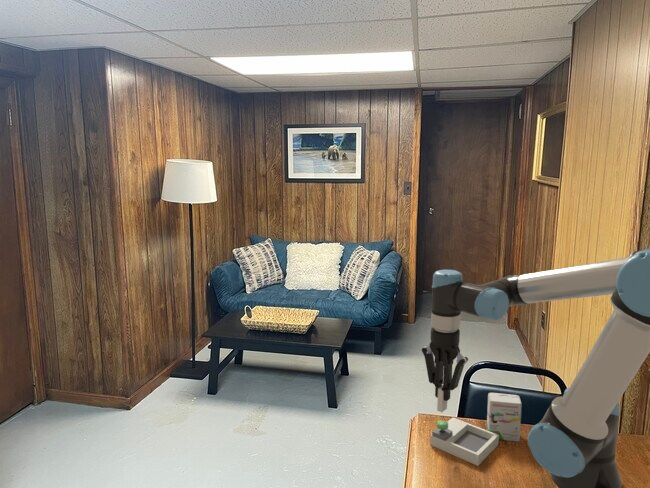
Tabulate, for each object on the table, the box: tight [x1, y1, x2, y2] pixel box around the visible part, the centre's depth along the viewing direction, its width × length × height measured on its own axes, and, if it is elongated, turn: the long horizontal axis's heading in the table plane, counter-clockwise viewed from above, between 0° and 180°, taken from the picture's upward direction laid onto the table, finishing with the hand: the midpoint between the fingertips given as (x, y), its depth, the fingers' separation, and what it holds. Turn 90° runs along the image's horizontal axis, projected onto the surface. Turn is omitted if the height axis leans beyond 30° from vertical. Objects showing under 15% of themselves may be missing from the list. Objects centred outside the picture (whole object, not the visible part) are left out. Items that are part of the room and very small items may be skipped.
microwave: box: [429, 417, 499, 467], centre depth 132 cm, size 14×12×4 cm
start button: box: [436, 420, 448, 433], centre depth 132 cm, size 3×3×2 cm
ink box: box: [486, 392, 523, 442], centre depth 136 cm, size 8×5×12 cm, turn 77°
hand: (442, 409), depth 131 cm, fingers closed
